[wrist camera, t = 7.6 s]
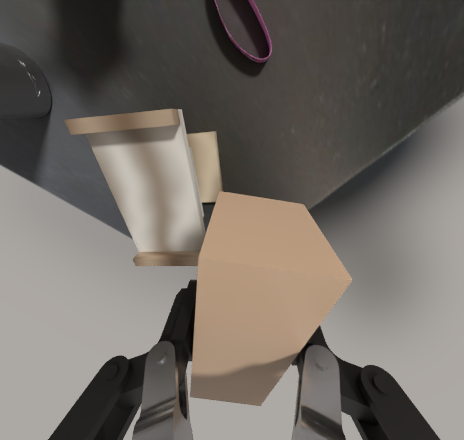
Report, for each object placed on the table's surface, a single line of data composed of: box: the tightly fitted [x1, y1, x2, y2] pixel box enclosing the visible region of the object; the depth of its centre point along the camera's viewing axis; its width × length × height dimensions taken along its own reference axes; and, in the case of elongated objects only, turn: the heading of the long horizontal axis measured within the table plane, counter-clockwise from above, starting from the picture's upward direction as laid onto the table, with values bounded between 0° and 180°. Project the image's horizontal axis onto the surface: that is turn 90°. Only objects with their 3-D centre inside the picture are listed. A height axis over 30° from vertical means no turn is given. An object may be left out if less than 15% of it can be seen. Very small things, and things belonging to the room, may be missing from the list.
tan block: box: [190, 191, 352, 406], centre depth 10 cm, size 4×12×5 cm, turn 172°
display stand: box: [64, 109, 223, 266], centre depth 27 cm, size 12×18×15 cm, turn 5°
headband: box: [215, 0, 271, 63], centre depth 22 cm, size 11×4×2 cm, turn 40°
